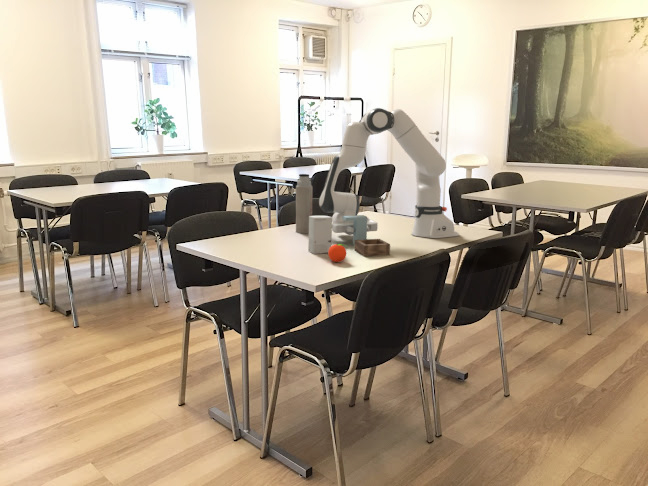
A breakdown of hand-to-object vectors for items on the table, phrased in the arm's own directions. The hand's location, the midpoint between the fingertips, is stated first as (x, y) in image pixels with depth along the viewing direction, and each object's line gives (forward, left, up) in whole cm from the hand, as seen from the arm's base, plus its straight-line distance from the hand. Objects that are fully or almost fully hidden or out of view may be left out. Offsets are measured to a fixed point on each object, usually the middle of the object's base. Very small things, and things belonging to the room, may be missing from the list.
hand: (360, 230), depth 230 cm
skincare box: (+20, +6, -7) cm, 22 cm away
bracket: (+3, -1, -7) cm, 7 cm away
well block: (0, +13, -7) cm, 15 cm away
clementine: (+18, +24, -7) cm, 31 cm away
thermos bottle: (+15, -38, -7) cm, 41 cm away
